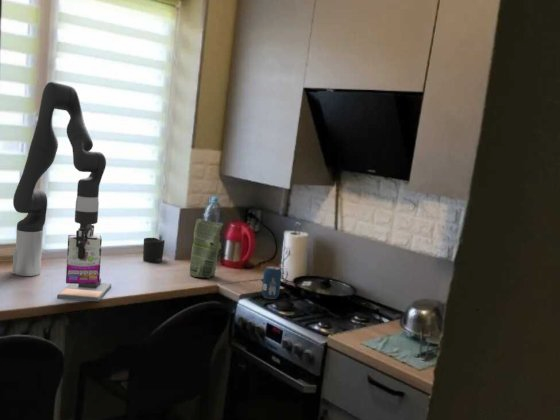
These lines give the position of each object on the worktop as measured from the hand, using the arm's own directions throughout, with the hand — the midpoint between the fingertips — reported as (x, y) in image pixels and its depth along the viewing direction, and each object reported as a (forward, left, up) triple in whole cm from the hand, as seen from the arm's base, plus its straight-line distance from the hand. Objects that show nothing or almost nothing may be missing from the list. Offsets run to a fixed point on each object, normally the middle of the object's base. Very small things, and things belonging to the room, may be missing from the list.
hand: (83, 256), depth 198 cm
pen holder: (+15, +63, -15) cm, 67 cm away
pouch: (+40, +43, -15) cm, 61 cm away
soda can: (+68, +20, -15) cm, 72 cm away
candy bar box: (0, 0, -9) cm, 9 cm away
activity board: (0, +5, -14) cm, 15 cm away
